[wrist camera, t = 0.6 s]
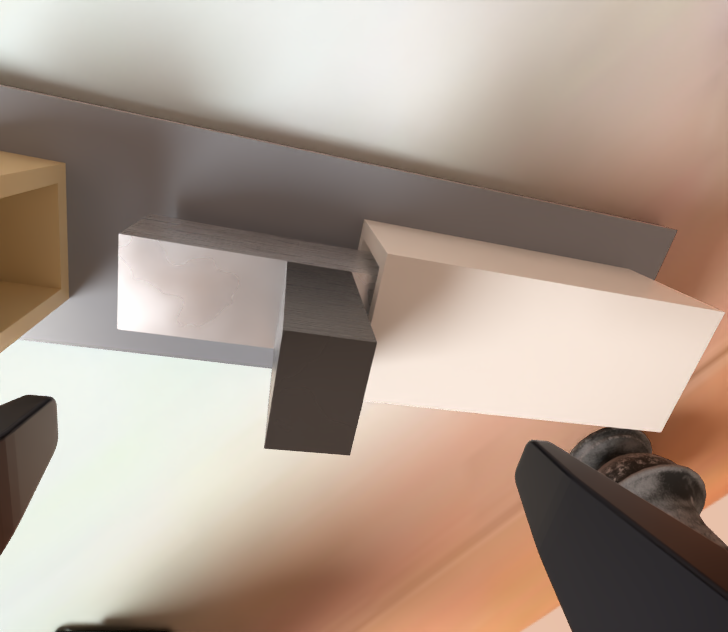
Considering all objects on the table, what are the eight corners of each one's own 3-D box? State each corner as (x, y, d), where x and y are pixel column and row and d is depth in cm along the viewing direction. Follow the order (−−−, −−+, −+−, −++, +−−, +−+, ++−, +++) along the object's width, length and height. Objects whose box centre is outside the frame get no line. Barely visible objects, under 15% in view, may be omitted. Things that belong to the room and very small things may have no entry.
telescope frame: (585, 394, 24) (670, 476, 18) (-58, 317, 18) (-212, 403, 13) (660, 225, 21) (791, 263, 15) (-93, 64, 15) (-319, 33, 9)
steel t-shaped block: (557, 352, 20) (704, 483, 13) (146, 295, 17) (31, 429, 10) (583, 289, 19) (759, 393, 12) (149, 213, 16) (23, 295, 8)
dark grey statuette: (563, 515, 27) (741, 779, 16) (551, 441, 25) (750, 693, 14) (656, 484, 27) (896, 726, 16) (654, 407, 25) (932, 631, 14)
